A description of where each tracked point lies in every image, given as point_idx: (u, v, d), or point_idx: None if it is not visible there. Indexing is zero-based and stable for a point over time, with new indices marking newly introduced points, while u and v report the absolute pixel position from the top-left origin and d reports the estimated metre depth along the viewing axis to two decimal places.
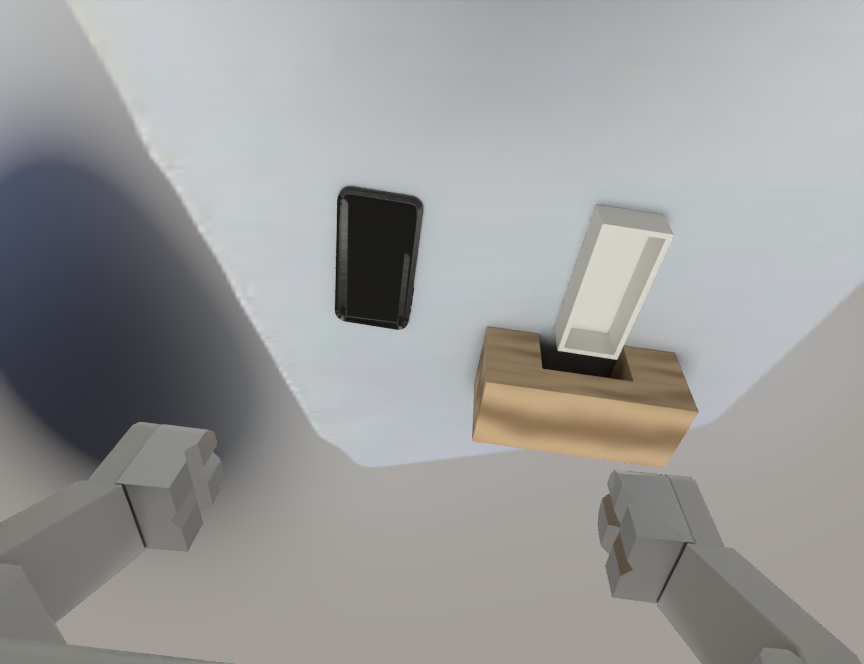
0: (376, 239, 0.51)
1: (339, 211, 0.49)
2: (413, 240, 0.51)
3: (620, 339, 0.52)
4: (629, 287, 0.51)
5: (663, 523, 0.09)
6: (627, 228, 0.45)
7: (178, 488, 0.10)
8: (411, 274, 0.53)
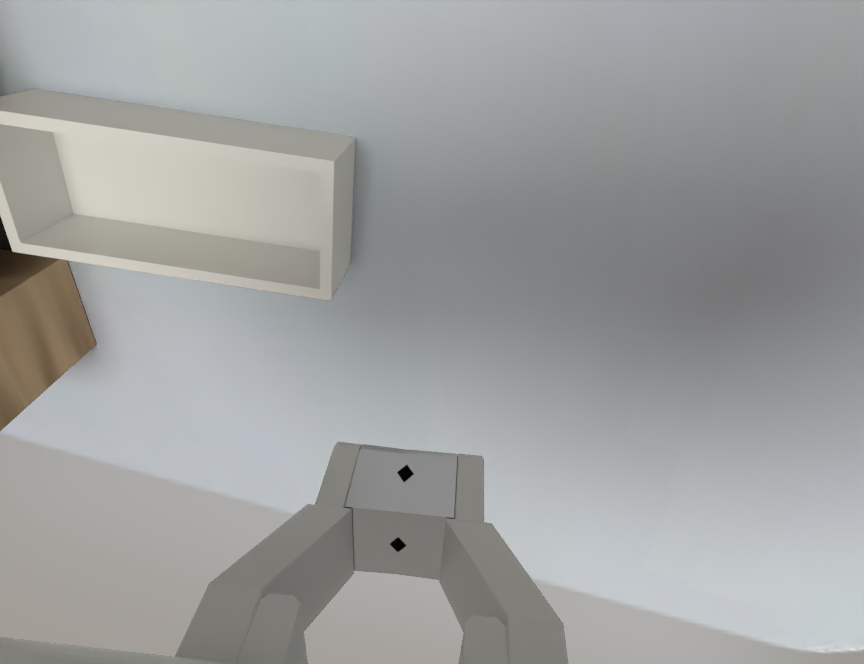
0: None
1: None
2: None
3: (66, 248, 0.23)
4: (193, 237, 0.25)
5: (431, 499, 0.09)
6: (331, 214, 0.21)
7: None
8: None
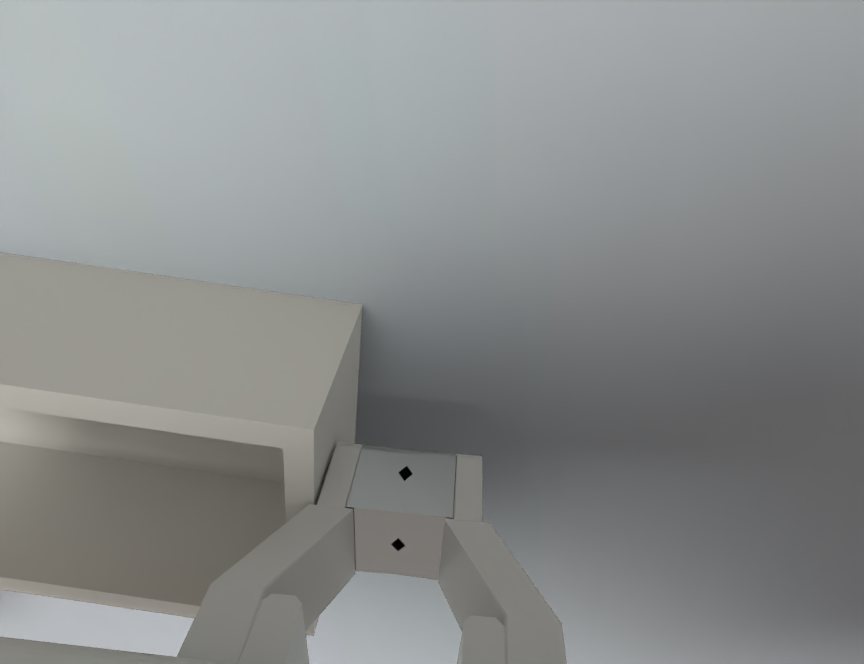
0: None
1: None
2: None
3: None
4: (60, 469, 0.14)
5: (430, 499, 0.09)
6: None
7: None
8: None
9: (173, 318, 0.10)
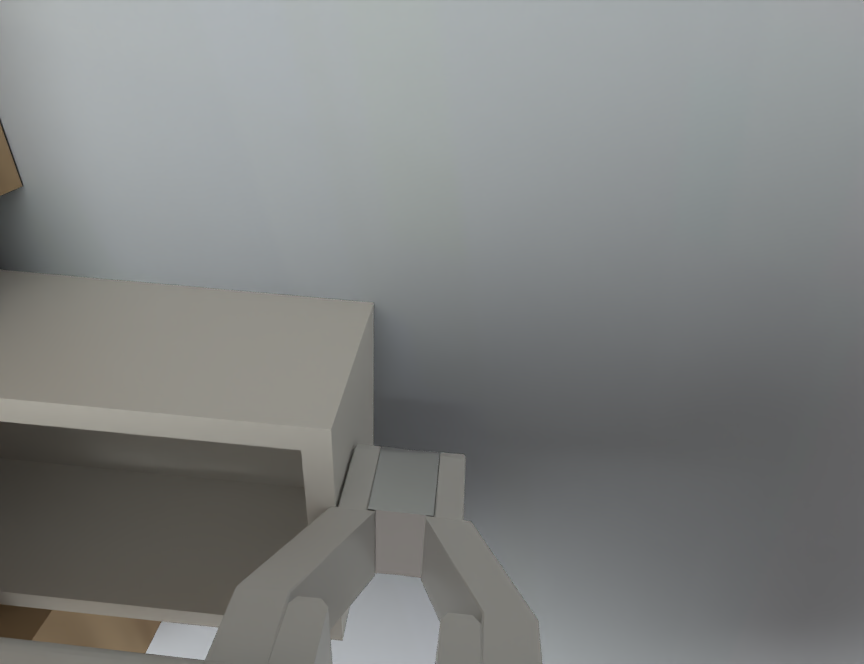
0: None
1: None
2: None
3: None
4: (82, 485, 0.14)
5: (411, 497, 0.09)
6: None
7: None
8: None
9: (184, 326, 0.10)
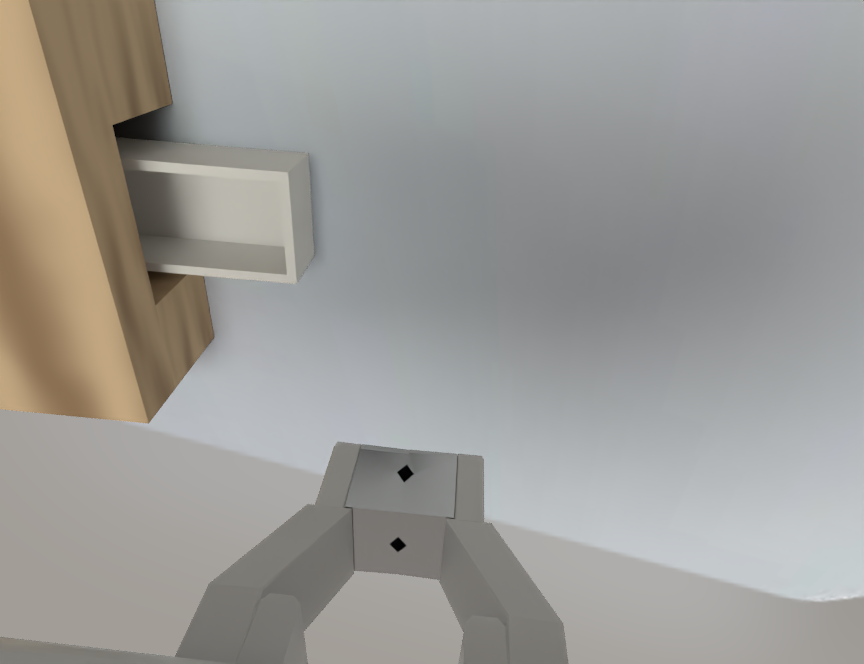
0: None
1: None
2: None
3: None
4: (185, 242, 0.31)
5: (431, 499, 0.09)
6: (290, 214, 0.27)
7: None
8: None
9: (236, 153, 0.28)
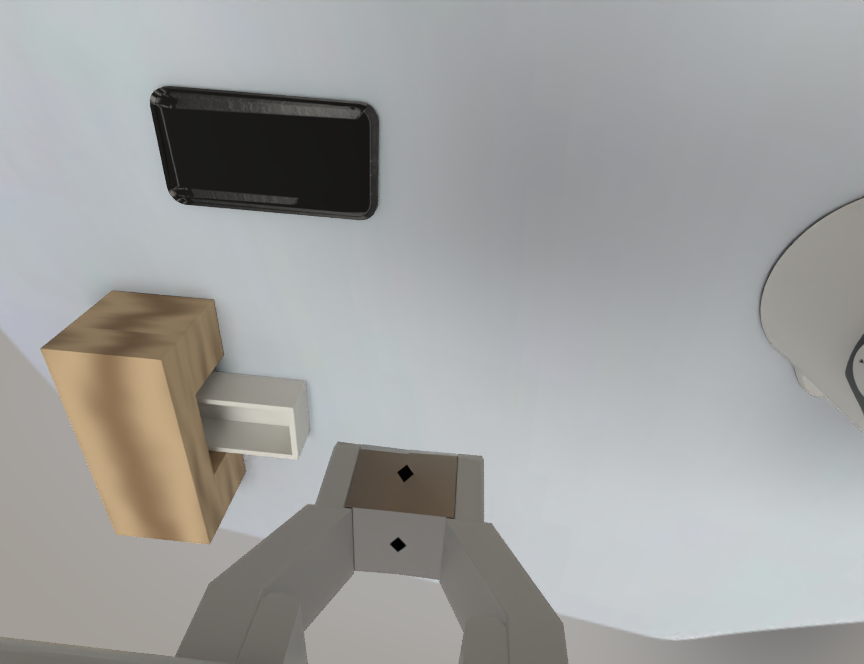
0: (307, 158, 0.36)
1: (340, 105, 0.34)
2: (318, 208, 0.38)
3: None
4: (229, 425, 0.50)
5: (431, 499, 0.09)
6: (294, 426, 0.46)
7: None
8: (267, 207, 0.39)
9: (262, 385, 0.47)
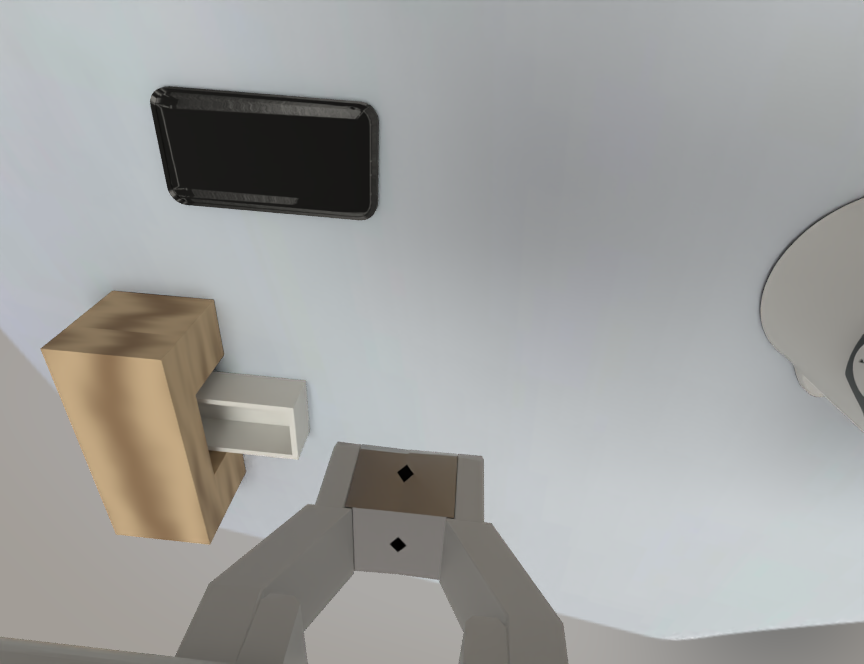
0: (308, 158, 0.36)
1: (340, 105, 0.34)
2: (318, 208, 0.38)
3: None
4: (229, 424, 0.50)
5: (431, 499, 0.09)
6: (294, 426, 0.46)
7: None
8: (267, 207, 0.39)
9: (262, 385, 0.47)
